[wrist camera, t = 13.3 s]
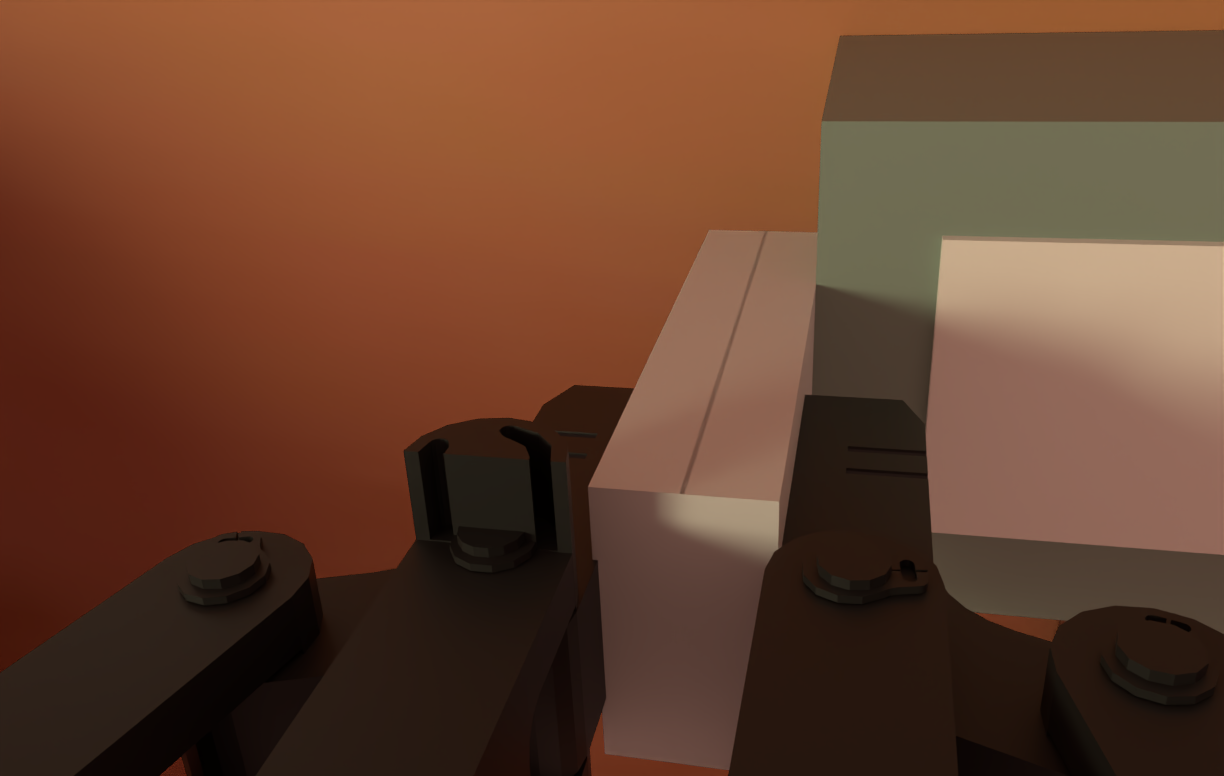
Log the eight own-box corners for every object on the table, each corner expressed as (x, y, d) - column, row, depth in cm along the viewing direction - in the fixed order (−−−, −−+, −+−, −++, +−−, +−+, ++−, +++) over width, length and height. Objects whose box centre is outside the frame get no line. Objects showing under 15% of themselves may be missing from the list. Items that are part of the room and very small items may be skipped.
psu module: (825, 393, 19) (803, 603, 14) (840, 35, 17) (820, 124, 11) (1276, 416, 18) (1449, 663, 12) (1369, 28, 15) (1638, 125, 10)
